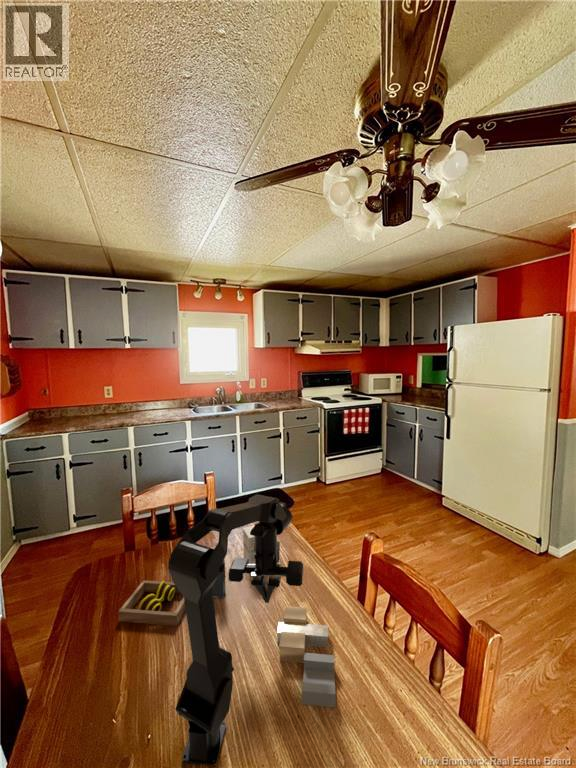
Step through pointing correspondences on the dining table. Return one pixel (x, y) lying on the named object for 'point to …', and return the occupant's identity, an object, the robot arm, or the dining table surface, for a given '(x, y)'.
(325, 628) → the bar
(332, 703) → the v cradle
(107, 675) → the dining table surface
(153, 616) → the valet tray
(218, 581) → the vaping device
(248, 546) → the supplement box
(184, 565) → the robot arm
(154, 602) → the yellow looped piece
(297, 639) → the wooden blocks
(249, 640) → the dining table surface
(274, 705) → the dining table surface
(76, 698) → the dining table surface
